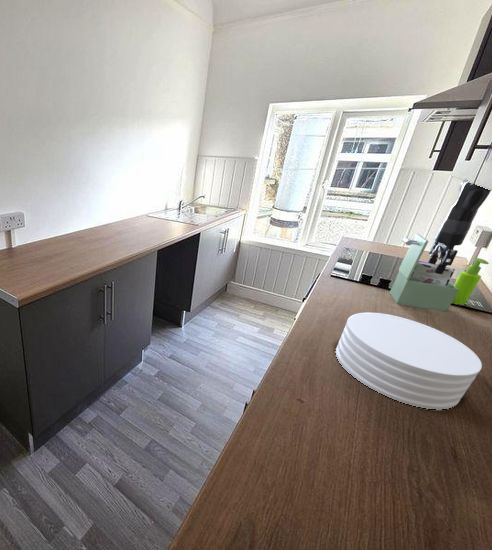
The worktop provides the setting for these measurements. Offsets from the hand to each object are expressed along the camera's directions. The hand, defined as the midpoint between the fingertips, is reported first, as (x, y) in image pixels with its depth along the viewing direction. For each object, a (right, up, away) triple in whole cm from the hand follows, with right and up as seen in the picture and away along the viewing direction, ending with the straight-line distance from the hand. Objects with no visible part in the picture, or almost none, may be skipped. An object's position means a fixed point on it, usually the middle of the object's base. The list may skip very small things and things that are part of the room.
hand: (433, 269), depth 120 cm
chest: (-1, -14, +7) cm, 15 cm away
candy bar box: (0, -13, +6) cm, 15 cm away
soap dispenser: (+18, -14, +8) cm, 24 cm away
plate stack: (-47, -31, -33) cm, 65 cm away
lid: (-7, +5, +1) cm, 9 cm away
